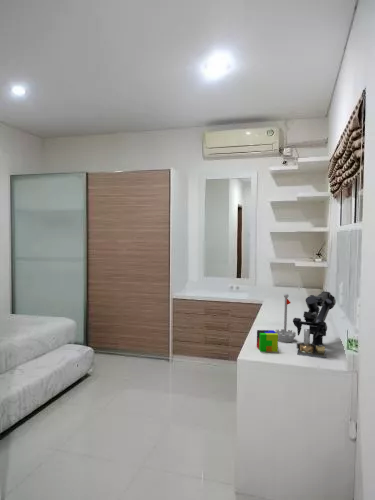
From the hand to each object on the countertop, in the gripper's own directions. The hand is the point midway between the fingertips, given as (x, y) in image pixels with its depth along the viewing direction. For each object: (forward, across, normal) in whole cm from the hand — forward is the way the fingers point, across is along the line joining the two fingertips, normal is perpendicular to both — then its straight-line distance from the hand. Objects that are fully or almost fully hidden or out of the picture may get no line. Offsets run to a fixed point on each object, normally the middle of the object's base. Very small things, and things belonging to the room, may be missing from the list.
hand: (306, 336), depth 214 cm
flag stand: (-7, -20, +20) cm, 29 cm away
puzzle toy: (+12, -21, +2) cm, 24 cm away
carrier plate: (+5, +3, +8) cm, 10 cm away
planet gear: (+5, 0, +7) cm, 8 cm away
